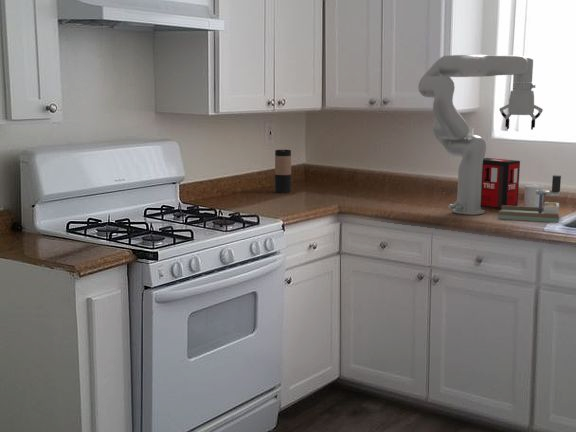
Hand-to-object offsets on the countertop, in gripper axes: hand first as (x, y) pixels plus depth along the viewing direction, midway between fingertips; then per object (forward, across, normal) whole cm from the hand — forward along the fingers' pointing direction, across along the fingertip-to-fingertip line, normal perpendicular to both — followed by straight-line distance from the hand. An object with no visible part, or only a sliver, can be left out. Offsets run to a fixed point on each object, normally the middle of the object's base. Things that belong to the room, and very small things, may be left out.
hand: (519, 129), depth 329 cm
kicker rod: (+31, -13, +21) cm, 40 cm away
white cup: (+34, -7, +1) cm, 34 cm away
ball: (+30, -14, +21) cm, 39 cm away
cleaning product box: (+34, +9, -2) cm, 35 cm away
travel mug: (+34, +107, -10) cm, 113 cm away
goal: (+32, -14, +21) cm, 41 cm away
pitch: (+33, -6, +21) cm, 40 cm away
